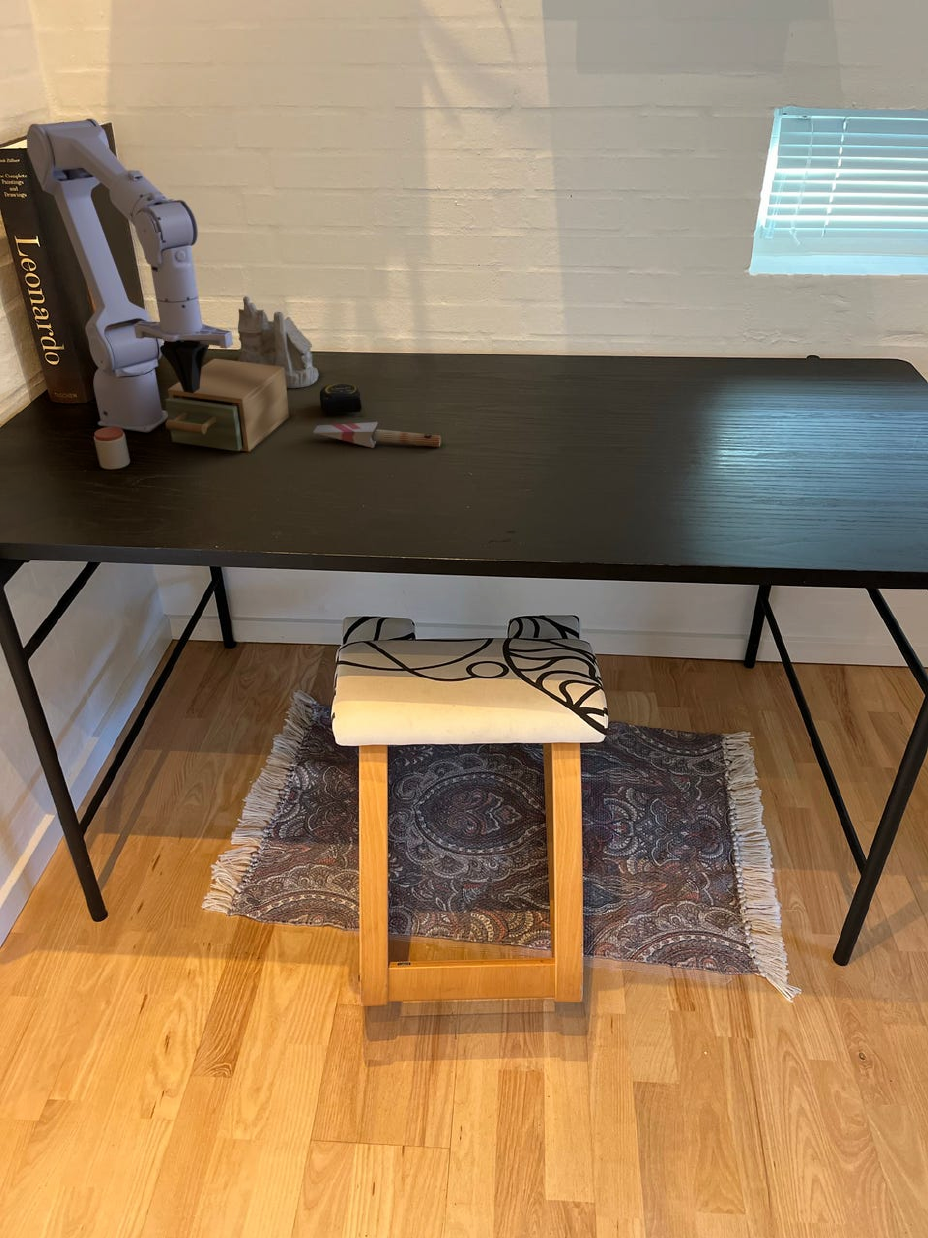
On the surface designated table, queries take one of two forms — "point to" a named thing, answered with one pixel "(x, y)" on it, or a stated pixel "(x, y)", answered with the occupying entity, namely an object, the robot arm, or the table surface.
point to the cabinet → (245, 395)
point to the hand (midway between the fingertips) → (191, 390)
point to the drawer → (204, 422)
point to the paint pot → (111, 448)
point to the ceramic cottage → (275, 345)
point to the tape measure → (340, 399)
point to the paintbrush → (374, 435)
